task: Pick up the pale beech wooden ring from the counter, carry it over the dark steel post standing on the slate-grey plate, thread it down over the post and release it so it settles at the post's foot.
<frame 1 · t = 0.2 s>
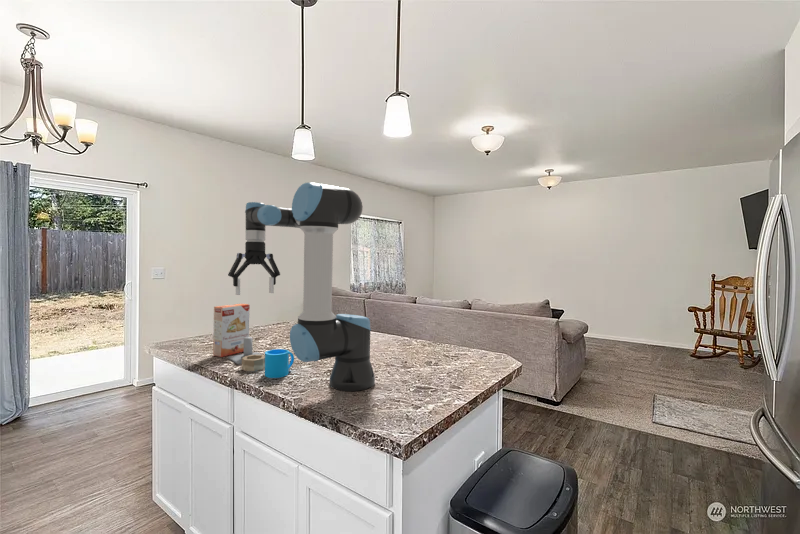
hand: (255, 293, 150), 27 cm above the counter, fingers open, 13 cm apart
post plate: (247, 358, 153), on the counter
mug: (281, 373, 135), on the counter
ring: (254, 367, 140), on the counter
cracker box: (231, 353, 161), on the counter
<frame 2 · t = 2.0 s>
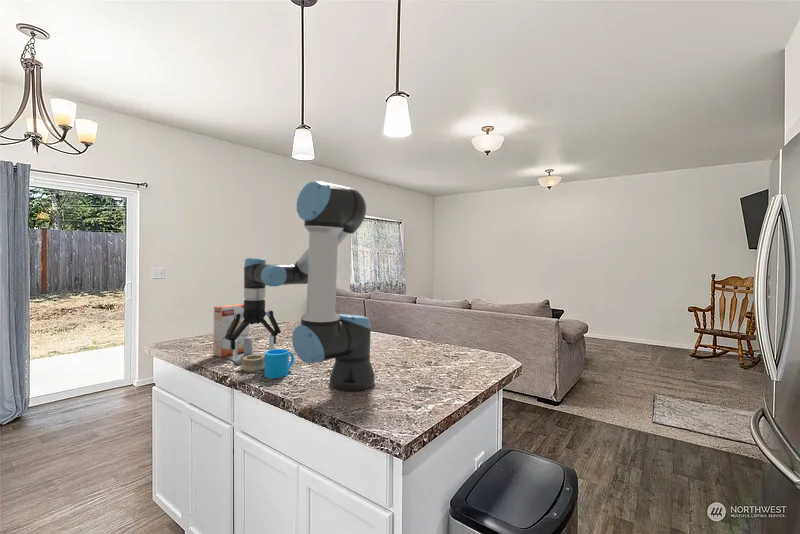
hand: (253, 354, 141), 5 cm above the counter, fingers open, 13 cm apart
nothing on the counter moved.
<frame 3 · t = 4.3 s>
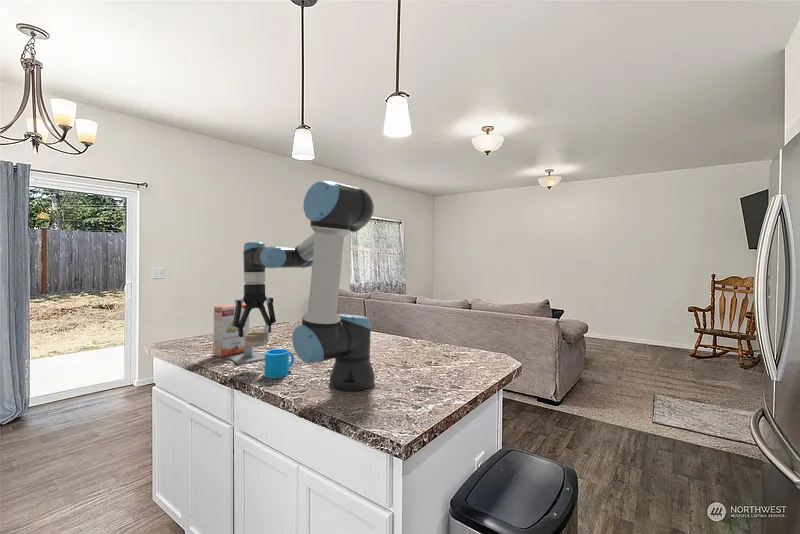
hand: (255, 343, 140), 9 cm above the counter, fingers closed on ring, 8 cm apart
ring: (255, 344, 140), point 9 cm above the counter, touching gripper
everything else where it was.
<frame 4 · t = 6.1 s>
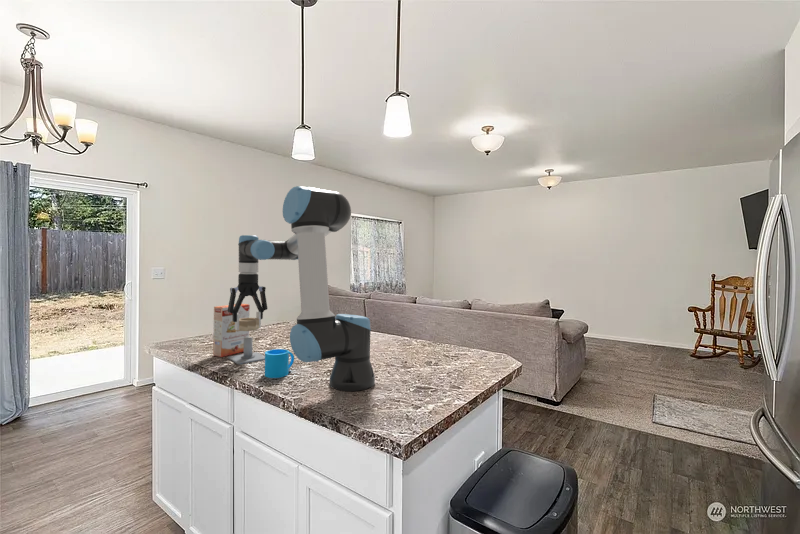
hand: (247, 328, 152), 12 cm above the counter, fingers closed on ring, 8 cm apart
ring: (247, 329, 153), point 12 cm above the counter, touching gripper
everything else where it was.
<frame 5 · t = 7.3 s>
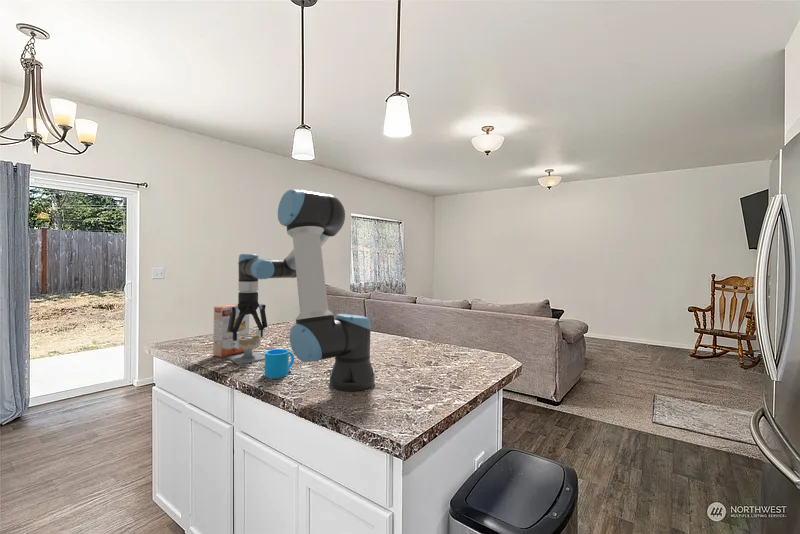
hand: (247, 346, 153), 5 cm above the counter, fingers closed on ring, 8 cm apart
ring: (247, 347, 153), point 5 cm above the counter, touching gripper
everything else where it was.
when the fingers open (2 cm above the counter, at t = 8.2 s): ring drops 1 cm, resting on post plate.
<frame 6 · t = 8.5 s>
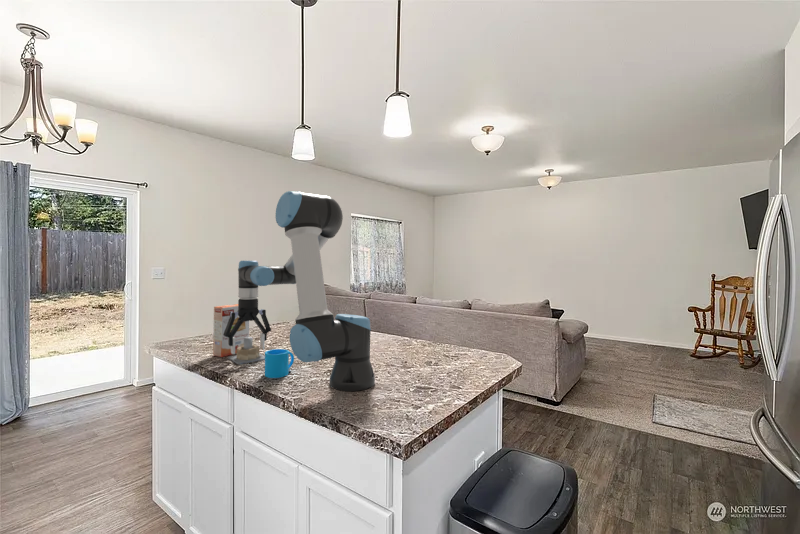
hand: (248, 351, 153), 3 cm above the counter, fingers open, 11 cm apart
ring: (248, 357, 153), point 1 cm above the counter, touching post plate
everything else where it was.
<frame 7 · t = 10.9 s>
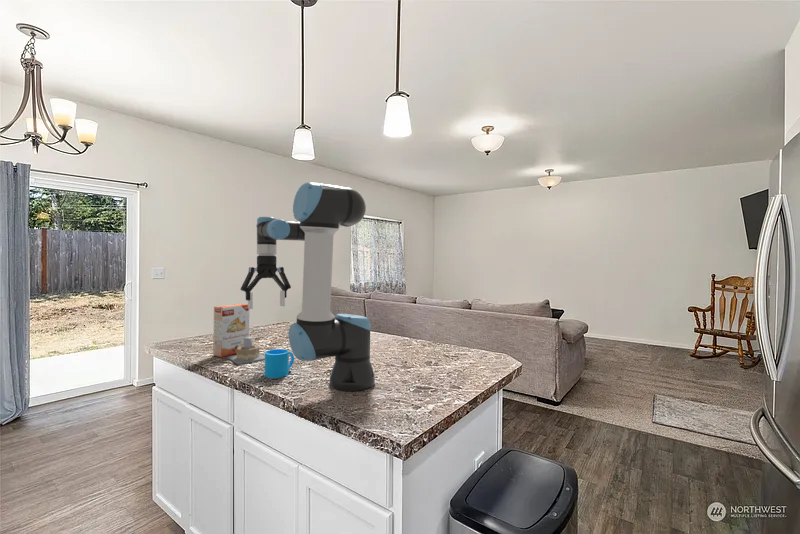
hand: (266, 307, 151), 21 cm above the counter, fingers open, 13 cm apart
nothing on the counter moved.
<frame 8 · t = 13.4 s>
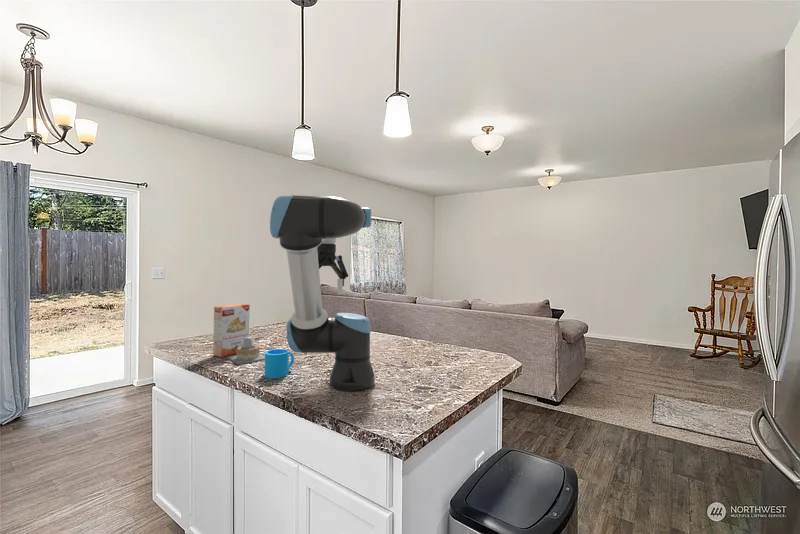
hand: (325, 295, 152), 27 cm above the counter, fingers open, 13 cm apart
nothing on the counter moved.
at the end: ring 0.1 cm from the post plate (horizontally); ring point 0.6 cm above the counter; the gripper is holding nothing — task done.
